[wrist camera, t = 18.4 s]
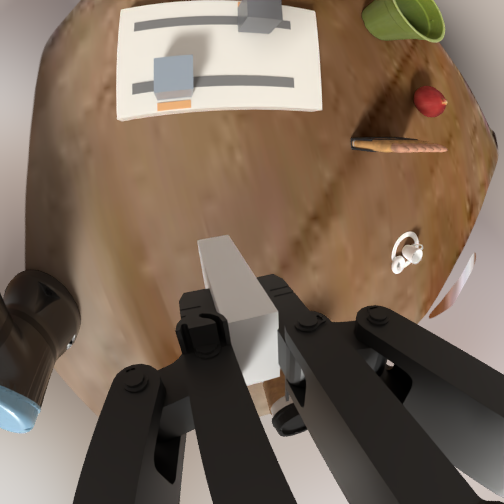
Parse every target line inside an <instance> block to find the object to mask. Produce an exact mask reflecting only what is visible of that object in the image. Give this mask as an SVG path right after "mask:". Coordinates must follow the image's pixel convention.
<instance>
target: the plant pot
mask: <svg viewBox="0 0 504 504" xmlns="http://www.w3.org/2000/svg"><path fill="white" fill-rule="evenodd" d="M362 19H363V21H364V23H365V26H366V28H367V29H368V31H369V32H370V33H371V34H372V35H374V36H375V37H376V38H378V39H381V40H400V39H420V40H427V41H430V42H439V41H441V40H442V39H443V37H444V34H445V24H444V20H443V17H442V14H441V12H440V10H439V8H438V6H437V5H436V3H435V2H434V0H374V1H373V2H372V3H371V4H369V5H368V6H367V7H366V8H365V9H364V10H363V12H362Z"/></svg>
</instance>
